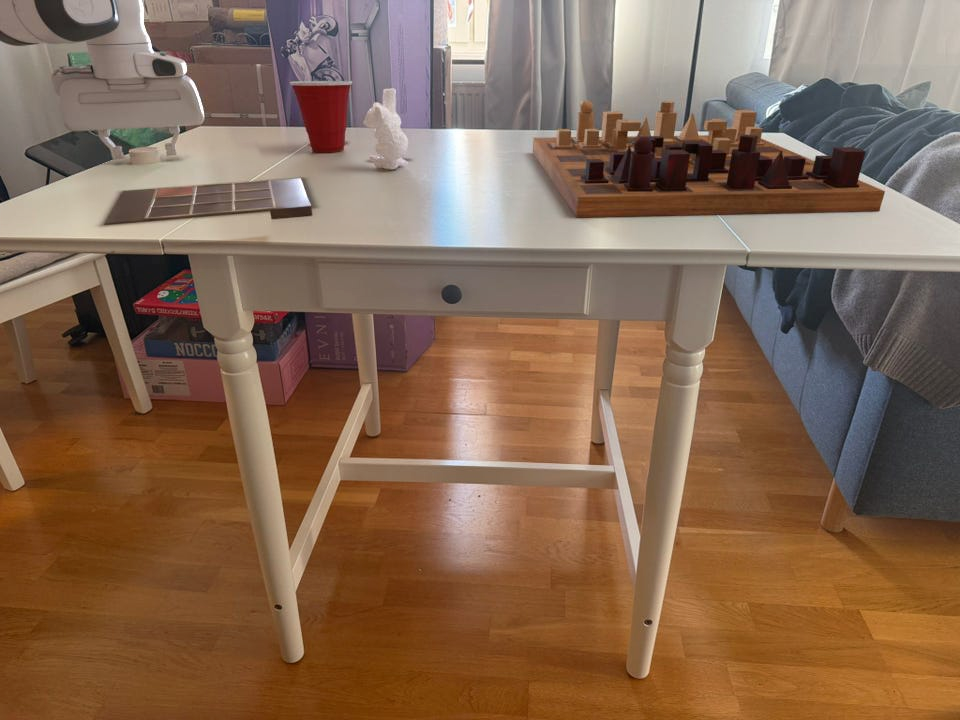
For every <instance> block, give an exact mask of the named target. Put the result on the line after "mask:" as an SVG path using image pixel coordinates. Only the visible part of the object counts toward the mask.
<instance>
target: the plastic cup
mask: <svg viewBox="0 0 960 720" xmlns="http://www.w3.org/2000/svg"><path fill="white" fill-rule="evenodd" d="M289 84H290V86H291V87H292V88H293V91H294V94H295V97H296V100H297V102H298V106H299V109H300V113H301V116H302V120H303V124H304V128H305V131H306V134H307V136H308V140H309V145H310V147H311V150H312V152H314V153H320V154H321V153H322V154H323V153H324V154H326V153H328V154H329V153H337V152H342V151H343V150H345V144H346V131H347V120H348V118H347V117H348V104H349V103H348V101H349V97H350V89H351V85H352V84H353V81H352V80H308V81H307V80H305V81H304V80H302V81H289Z"/></svg>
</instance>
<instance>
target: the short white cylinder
mask: <svg viewBox="0 0 960 720" xmlns="http://www.w3.org/2000/svg"><path fill="white" fill-rule="evenodd" d="M128 155H129V159H130V162H131V164H132V165H135V166H136V165H137V166H146V165H147V166H148V165H153V164H158V163H160V162H161V161H162V159H161V155H160V151H159V147H156V146H141V147H139V146H138V147H134V148H130V149H128Z"/></svg>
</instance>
